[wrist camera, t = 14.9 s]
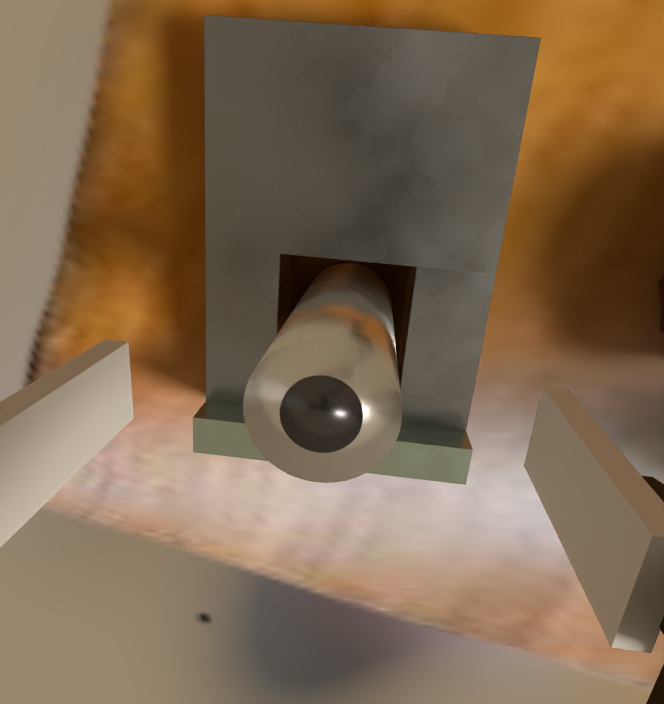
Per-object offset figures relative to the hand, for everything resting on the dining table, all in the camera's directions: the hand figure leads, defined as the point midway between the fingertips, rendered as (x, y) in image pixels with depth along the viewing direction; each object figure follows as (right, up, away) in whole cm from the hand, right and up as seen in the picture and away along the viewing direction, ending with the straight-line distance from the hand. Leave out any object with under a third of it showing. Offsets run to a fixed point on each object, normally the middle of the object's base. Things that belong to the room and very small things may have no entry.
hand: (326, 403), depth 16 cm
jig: (+1, +7, +12) cm, 14 cm away
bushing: (+1, +4, +13) cm, 14 cm away
